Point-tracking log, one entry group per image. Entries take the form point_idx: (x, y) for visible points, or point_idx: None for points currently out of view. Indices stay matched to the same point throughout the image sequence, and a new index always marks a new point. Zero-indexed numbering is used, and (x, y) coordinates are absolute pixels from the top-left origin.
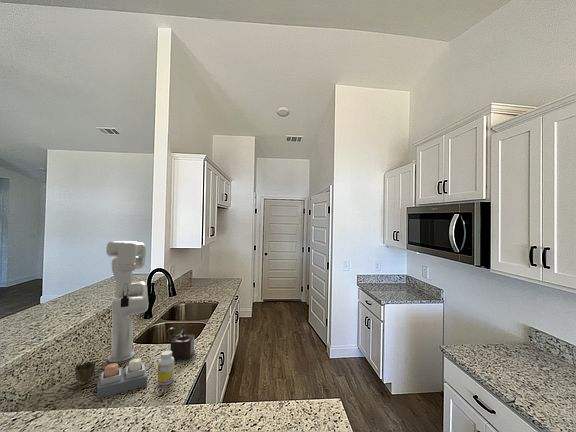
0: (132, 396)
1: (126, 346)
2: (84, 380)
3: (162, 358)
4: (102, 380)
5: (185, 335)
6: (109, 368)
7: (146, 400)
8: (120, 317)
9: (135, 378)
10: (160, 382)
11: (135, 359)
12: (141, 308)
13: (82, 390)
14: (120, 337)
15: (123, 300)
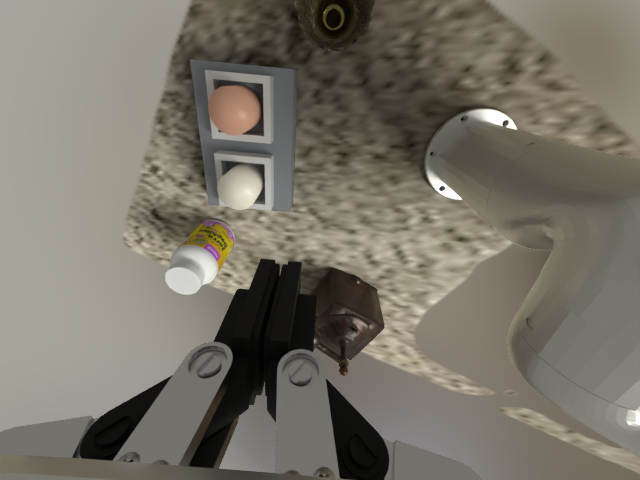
0: (176, 155)
1: (452, 181)
2: (307, 13)
3: (178, 262)
4: (206, 76)
5: (336, 346)
6: (210, 102)
7: (144, 182)
8: (545, 206)
9: (208, 175)
10: (199, 225)
11: (248, 193)
12: (514, 336)
13: (283, 12)
14: (477, 170)
15: (217, 337)
